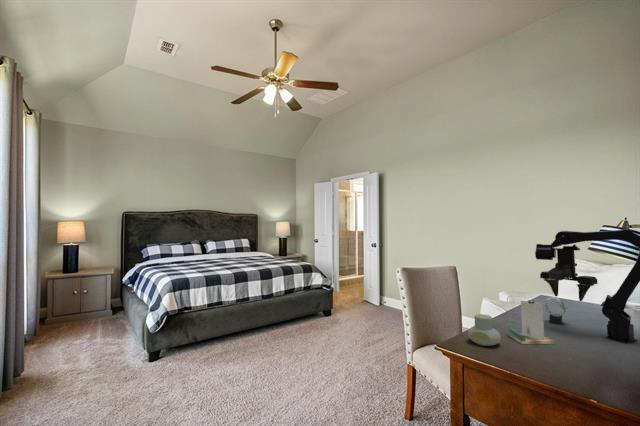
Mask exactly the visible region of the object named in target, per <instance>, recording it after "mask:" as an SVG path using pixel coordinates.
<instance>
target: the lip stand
mask: <svg viewBox="0 0 640 426" xmlns="http://www.w3.org/2000/svg"><path fill="white" fill-rule="evenodd" d="M506 331H507V336H508V337H510V338H511V339H513V340H514V341H515V342H517V343H519V344H521V345H545V344H546V345H556V341H555V340H554V339H551V338H549V337H547V336H545V335H544V339H529V338H527V337H526V336H525V335H523V334H522V332H520V331H519V330H516V329H514V328H513V327H507V330H506Z"/></svg>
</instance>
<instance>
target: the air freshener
mask: <svg viewBox="0 0 640 426" xmlns="http://www.w3.org/2000/svg"><path fill="white" fill-rule="evenodd" d="M493 326H494V325H493V317H492V316H491V315H489V314H482V313H477V314H475V315H474V325H472V327H470V328H468V331H467V336H468V338H469V339H470V340H471V341H472V342H474V343H476V344H477V345H479V346H483V347H493V346H495V345H497V344H499V343H500V342H501V340H502V336H501V334H500V332H499V330H497V329H495V328H494V327H493Z"/></svg>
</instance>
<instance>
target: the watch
mask: <svg viewBox="0 0 640 426" xmlns="http://www.w3.org/2000/svg"><path fill="white" fill-rule="evenodd" d="M549 300H556V302H557V305H558V306H559V307H560V308H561V309H562V310H563V313H561V314H557V313H553V312H552V311H551V310H550V308H549V306H548V304H547V301H549ZM544 308H545V310H546V312H547V313H548V314H549V316H548V317H549V324H553V325H557V326H558V325H559V326H562V325H563V322H564V321H563V320H564V319H563V316H564V315H565V313H566V312H567V310H568V308H567V306H566V304H565V303H564V301H563V300H562V299H561V298H558V297H557V296H554V297H553V296H552V297H549V298H547V299H545V302H544Z"/></svg>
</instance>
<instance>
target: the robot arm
mask: <svg viewBox="0 0 640 426" xmlns="http://www.w3.org/2000/svg"><path fill="white" fill-rule="evenodd" d="M554 236H555V237H554V240H553V241H552V242H551V243H550V244H542V243H536V247H535V251H534V255H535V259H536V260H540V261H541V260H543V261H544V260H545V261H548V260H549V261H553V260H554V259H556V258H557V259H556V260H557V262H555V265H554V267H553V268H551V269H550V270H547V271H541V272H540V273H539V278H540V279H543V281H545V282H546V283H547V284H548V285H549V286H550V288H551V290H552V292H553V295H554V297H558V296H559V283H560V282H559V281H563V280H564V281H565V280H566V281H573V282H577V283H578V284H576V286H577V288H578V301H579V302H583V300H584V299H585V297H586V294H587V292H588V291H589V289H591V287H594V286H595V285H598V284H599V283H598V282H599V281H598V279H597V277H595V276H592V275H591V276H590V275H579V276H578V272H577V271H576V267H577V266H578V263H576V259H575V258H576V257H575V251H581V248H580V247H578V246H577V244H576V243H582V242H594V241H595V242H598V241H614V240H615V241H616V240H617V241H618V240H625V241H626V242H628V243H630V244H631V245H632V246H634V247H635V248H637V249H639V250H640V235H639V234H637V233H636V232H633V230H631V229H628V228H625V229H624V228H623V229H618V230H617V229H615V230H602V231H601V230H600V231H571V230H561V231H559V232H557V233H556V235H554ZM572 244H573V245H572ZM561 246H562V248H559V247H561ZM639 283H640V251H639V253H638V256H637V259H636V261H635V263H634V265H633V266H632V268H631V270H629V272H628V274H627V276H626V277H625V278H624V280H623V281H622V283H621V285H620V286H619V288H618V289H617V291H616V292H615V293H614V294H613V295H612V296H611V295H610V294H607V295H606V297H605V300H604V301H603V302H602V301H601V305H600V307H601V313H602V315H603V316H604V317H606V318H607V319H608V320H607V324H606V333H607V335H606V336H605V337H606V339H611V340H615V341H618V342H622V343H626V344H630V343H634V342H637V341H638V339H636V338H635V329H634V327H635V326H634V324H633V323H631V322H632V321H631V320H632V316H631V315H630V314H629V313H627V312H626V311H625V309H626V306H627V303H628V300H629V298H630V297H631V296H632V294H633V292H634V290H635V289H636V288H637V286H638V285H639Z"/></svg>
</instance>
